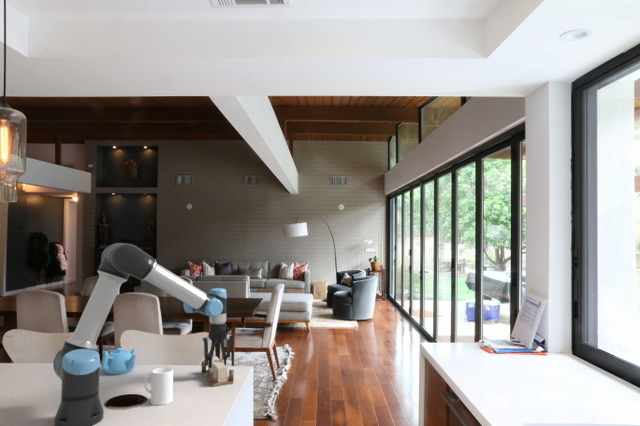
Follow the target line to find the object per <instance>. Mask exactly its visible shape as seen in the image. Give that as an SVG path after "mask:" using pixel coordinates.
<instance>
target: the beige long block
mask: <svg viewBox="0 0 640 426" xmlns="http://www.w3.org/2000/svg"><path fill="white" fill-rule="evenodd" d="M220 359H221V358H219V357H218V356H216V355H215V356H214V355H213V358H212V360H213V361H214V372H216V381H217V382H218V383H219V382H226V381H227V375H228V366H227V365H226V366H225V365H224V363H223V362H222V361H221V360H220ZM208 362H209V361H208V360H207V363H208ZM207 370H208V371H209V372H210V373H211V368H209V367H208V366H207Z"/></svg>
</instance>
